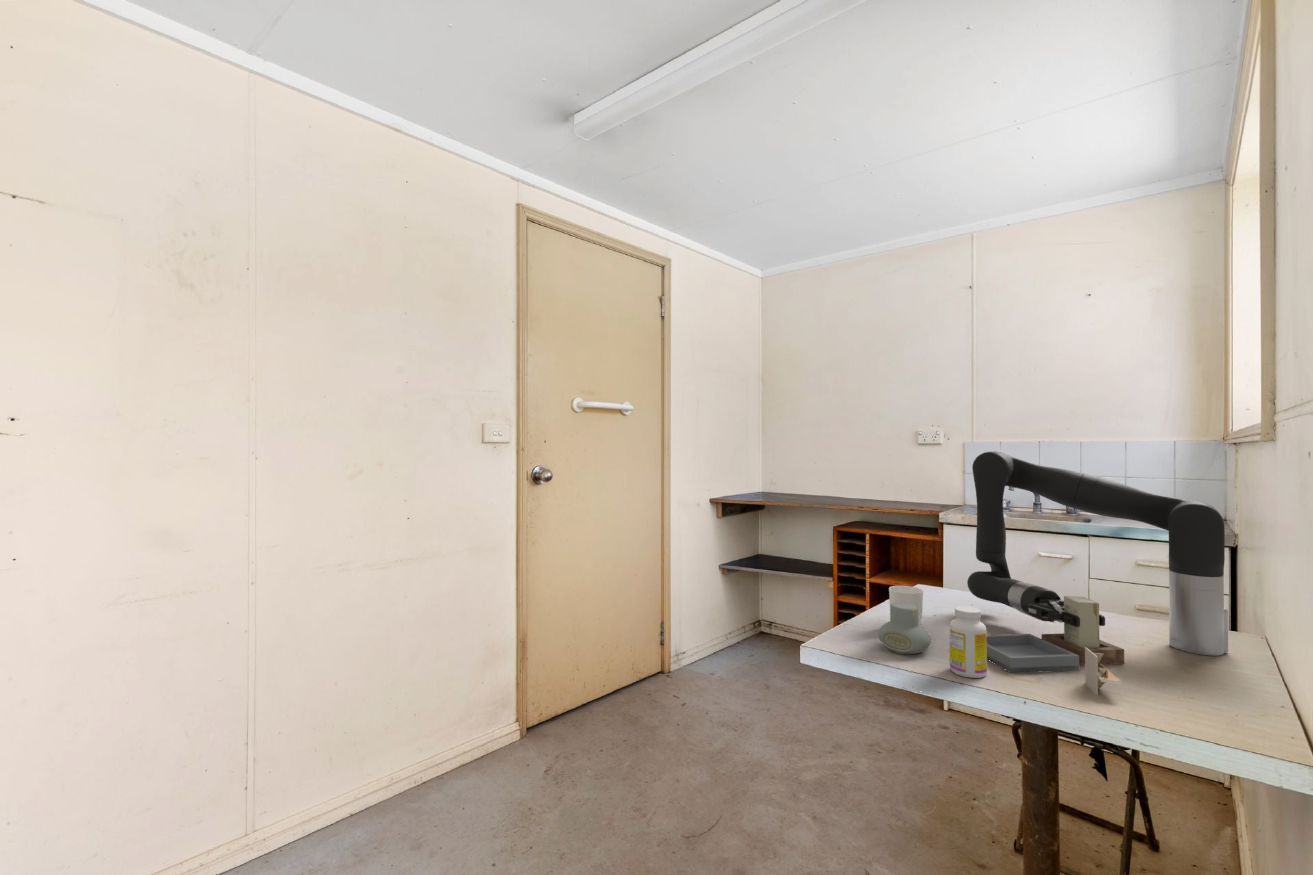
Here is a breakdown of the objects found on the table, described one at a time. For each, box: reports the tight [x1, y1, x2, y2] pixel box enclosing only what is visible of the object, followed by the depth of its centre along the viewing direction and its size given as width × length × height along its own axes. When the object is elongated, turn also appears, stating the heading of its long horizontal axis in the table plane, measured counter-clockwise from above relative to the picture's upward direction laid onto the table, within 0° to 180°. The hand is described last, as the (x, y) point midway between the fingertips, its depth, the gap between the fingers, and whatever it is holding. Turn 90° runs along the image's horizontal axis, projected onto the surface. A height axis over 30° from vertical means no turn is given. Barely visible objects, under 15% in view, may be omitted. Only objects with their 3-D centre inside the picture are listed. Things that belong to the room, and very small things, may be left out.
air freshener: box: [878, 602, 932, 655], centre depth 134 cm, size 11×8×10 cm
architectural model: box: [1084, 647, 1122, 696], centre depth 112 cm, size 3×7×7 cm, turn 162°
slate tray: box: [987, 633, 1080, 674], centre depth 128 cm, size 15×14×3 cm
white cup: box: [888, 585, 924, 626], centre depth 149 cm, size 8×8×10 cm
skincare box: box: [1063, 595, 1100, 648], centre depth 131 cm, size 6×4×12 cm
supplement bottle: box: [949, 605, 988, 679], centre depth 121 cm, size 7×7×13 cm
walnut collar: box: [1041, 632, 1125, 666], centre depth 131 cm, size 10×11×3 cm
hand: (1090, 621), depth 128 cm, fingers open, 5 cm apart
